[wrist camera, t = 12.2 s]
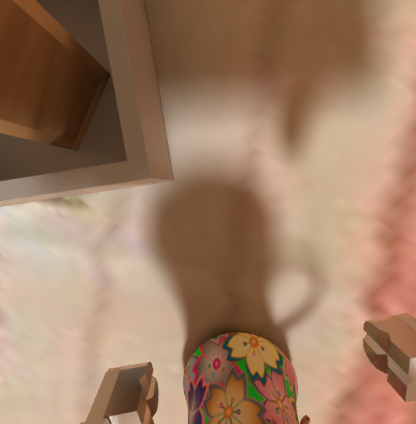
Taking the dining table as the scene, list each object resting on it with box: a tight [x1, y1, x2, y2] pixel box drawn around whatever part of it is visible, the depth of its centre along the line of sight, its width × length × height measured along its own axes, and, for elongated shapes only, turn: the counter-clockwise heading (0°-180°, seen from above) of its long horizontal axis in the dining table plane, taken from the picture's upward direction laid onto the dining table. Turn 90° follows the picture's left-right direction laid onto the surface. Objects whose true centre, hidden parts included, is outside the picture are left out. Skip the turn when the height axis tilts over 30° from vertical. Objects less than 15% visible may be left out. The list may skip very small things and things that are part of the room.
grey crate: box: [0, 0, 174, 207], centre depth 13 cm, size 14×14×5 cm
